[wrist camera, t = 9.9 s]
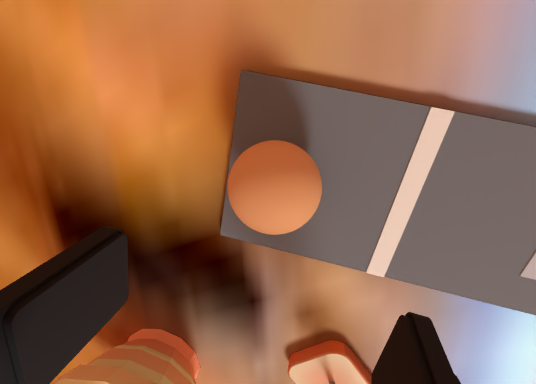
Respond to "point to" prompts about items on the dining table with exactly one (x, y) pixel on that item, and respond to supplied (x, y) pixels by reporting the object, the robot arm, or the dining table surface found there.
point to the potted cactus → (140, 362)
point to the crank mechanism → (327, 365)
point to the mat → (402, 188)
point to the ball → (274, 187)
